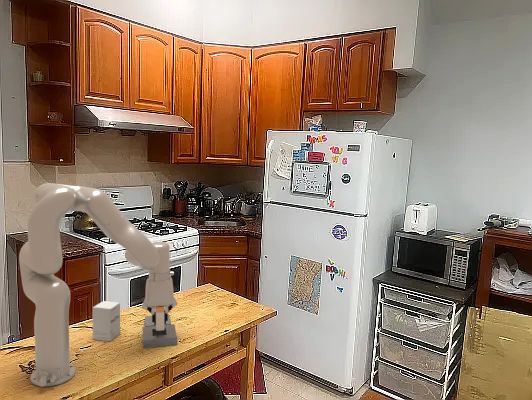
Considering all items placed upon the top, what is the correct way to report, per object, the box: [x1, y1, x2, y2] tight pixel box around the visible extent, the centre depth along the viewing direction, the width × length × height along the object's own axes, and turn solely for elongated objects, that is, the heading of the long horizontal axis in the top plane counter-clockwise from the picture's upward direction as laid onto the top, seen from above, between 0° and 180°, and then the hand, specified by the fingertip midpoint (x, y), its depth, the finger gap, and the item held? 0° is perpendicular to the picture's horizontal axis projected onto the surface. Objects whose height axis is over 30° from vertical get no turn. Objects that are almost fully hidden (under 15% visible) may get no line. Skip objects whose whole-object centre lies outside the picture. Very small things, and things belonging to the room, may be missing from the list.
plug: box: [155, 306, 165, 331], centre depth 162 cm, size 4×3×9 cm
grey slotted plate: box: [144, 313, 172, 327], centre depth 176 cm, size 10×10×2 cm
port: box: [142, 323, 178, 349], centre depth 163 cm, size 12×12×3 cm
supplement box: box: [92, 300, 121, 342], centre depth 164 cm, size 7×7×13 cm
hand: (159, 322), depth 162 cm, fingers closed on plug, 3 cm apart
